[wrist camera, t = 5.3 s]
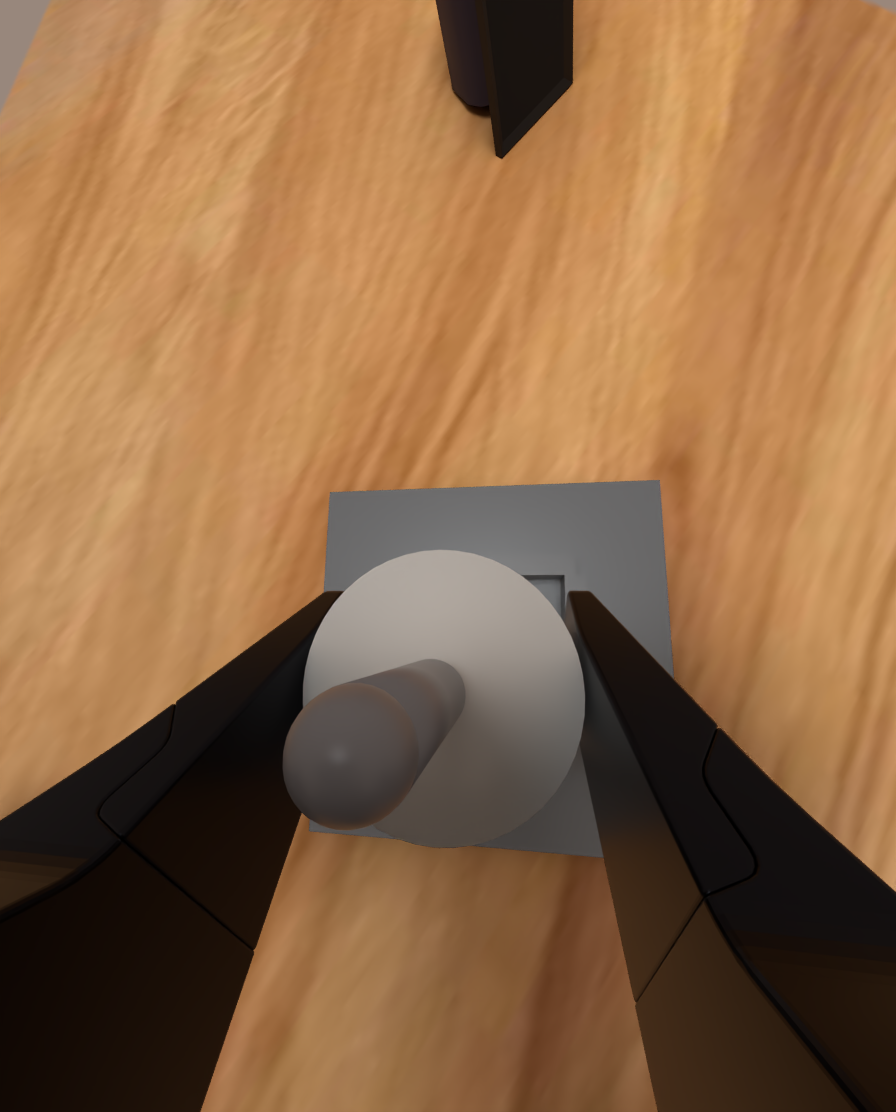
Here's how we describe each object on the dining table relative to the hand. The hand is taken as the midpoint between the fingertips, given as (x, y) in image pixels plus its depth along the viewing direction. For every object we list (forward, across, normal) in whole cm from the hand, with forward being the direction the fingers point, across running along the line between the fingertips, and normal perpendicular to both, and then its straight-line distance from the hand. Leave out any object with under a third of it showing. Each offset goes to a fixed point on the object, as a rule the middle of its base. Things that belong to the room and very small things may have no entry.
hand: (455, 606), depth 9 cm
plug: (+3, 0, +5) cm, 6 cm away
